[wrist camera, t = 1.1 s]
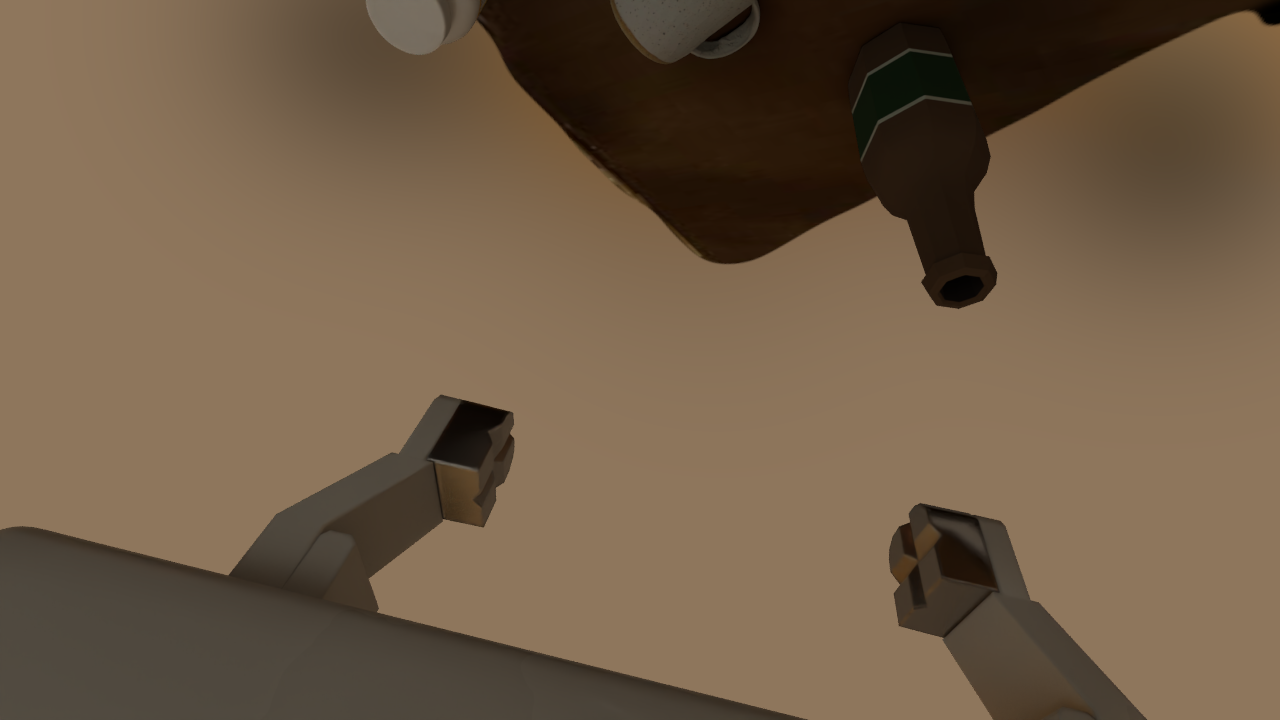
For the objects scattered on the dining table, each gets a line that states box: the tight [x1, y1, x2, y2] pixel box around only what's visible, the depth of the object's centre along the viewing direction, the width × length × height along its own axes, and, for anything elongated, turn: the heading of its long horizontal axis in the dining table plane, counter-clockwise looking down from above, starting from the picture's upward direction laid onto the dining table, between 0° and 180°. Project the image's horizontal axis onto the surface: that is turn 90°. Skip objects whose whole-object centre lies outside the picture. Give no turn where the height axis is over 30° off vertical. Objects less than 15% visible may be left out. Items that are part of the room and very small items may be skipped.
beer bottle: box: [848, 23, 997, 309], centre depth 40 cm, size 8×8×24 cm
